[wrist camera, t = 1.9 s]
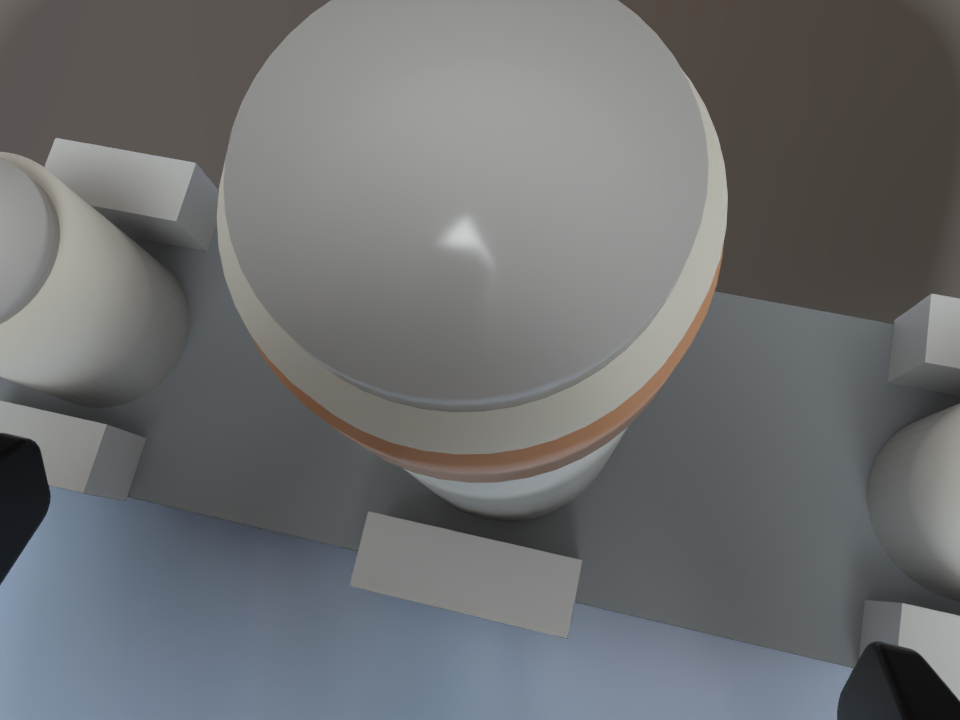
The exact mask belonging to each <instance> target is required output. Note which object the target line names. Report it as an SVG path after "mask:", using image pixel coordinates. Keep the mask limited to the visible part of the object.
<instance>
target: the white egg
mask: <svg viewBox="0 0 960 720" xmlns="http://www.w3.org/2000/svg"><path fill="white" fill-rule="evenodd" d="M867 504H868V512H869V516H870V520H871V524H872V527H873V529H874V532H875V534H876V537H877V539H878V541H879V542H880V544H881V546H882V548H883V549H884V551H885V552H886V554H887V555H888V556H889V558H890V559H891V560H892V562H893V563H894V564H895V565H896V566H897V567H898V568H899V569H900V570H901V571H902V572H903V573H904V574H905V575H907V576H908V577H909V578H910V579H911V580H913V581H914V582H916V583H917V584H919V585H920V586H921V587H923V588H925V589H927V590H929V591H931V592H933V593H935V594H937V595H940V596H943V597H945V598H949V599H952V600H956V601H960V403H959V404H957V405H954V406H952V407H949V408H947V409H944V410H942V411H939V412H937V413H934V414H932V415H929V416H927V417H924V418H922V419H920V420H917V421H915V422H913V423H910V424H908V425H907V426H905V427H904V428H902V429H900V430H899V431H898V432H896V433H895V434H894V435H893V436H892V437H891V438H890V439H889V440H888V441H887V442H886V443H885V444H884V445H883V447H882V448H881V450H880V451H879V453H878V455H877V456H876V458H875V461H874V463H873V465H872V468H871V471H870V475H869V479H868V486H867Z"/></svg>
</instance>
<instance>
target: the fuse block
mask: <svg viewBox="0 0 960 720" xmlns="http://www.w3.org/2000/svg"><path fill="white" fill-rule="evenodd" d="M44 168H45V169H46V170H48V171H49V172H50V173H52V174H53V175H54V176H55V177H56V178H58V179H59V180H60V181H61V182H63V183H64V184H65V185H66V186H67V187H69V188H70V189H71V190H72V191H73V192H75V193H76V194H77V195H78V196H80V197H81V198H82V199H83V200H84V201H86V202H87V203H88V204H89V205H91V206H92V207H93V208H94V209H95V210H97V211H98V212H99V213H100V214H101V215H103V216H104V217H105V218H106V219H108V220H109V221H110V222H111V223H112V224H114V225H115V226H116V227H117V228H119V229H120V230H121V231H122V232H123V233H125V234H126V235H127V236H128V237H129V238H131V239H132V240H133V241H134V242H136V243H137V244H138V245H139V246H140V247H142V248H143V249H144V250H145V251H147V252H148V253H149V254H150V255H151V256H153V257H154V258H155V259H156V260H157V261H159V262H160V263H161V264H162V265H164V266H165V267H166V268H167V269H168V270H169V271H170V272H171V273H172V274H173V275H174V276H175V277H176V279H177V280H178V282H179V283H180V285H181V287H182V289H183V291H184V293H185V296H186V299H187V303H188V308H189V331H188V335H187V340H186V343H185V346H184V349H183V351H182V353H181V355H180V357H179V359H178V361H177V363H176V364H175V366H174V367H173V369H172V370H171V371H170V373H169V374H168V375H167V376H166V377H165V379H163V380H162V381H161V382H160V383H159V384H158V385H157V386H156V387H155V388H153V389H152V390H151V391H149V392H148V393H146V394H145V395H143V396H141V397H139V398H138V399H135V400H133V401H131V402H128V403H125V404H122V405H119V406H114V407H107V408H91V407H84V406H80V405H76V404H73V403H70V402H68V401H65V400H62V399H59V398H57V397H54V396H51V395H48V394H46V393H43V392H40V391H37V390H35V389H32V388H29V387H26V386H24V385H21V384H18V383H16V382H13V381H10V380H7V379H5V378H2V377H0V433H8V434H12V435H17V436H21V437H25V438H29V439H32V440H33V441H35V442H36V443H37V445H38V446H39V447H40V450H41V454H42V458H43V463H44V467H45V472H46V476H47V481H48V485H49V486H53V487H58V488H62V489H66V490H70V491H75V492H79V493H83V494H89V495H94V496H100V497H106V498H111V499H117V500H123V501H126V499H127V497H130V498H135V499H139V500H143V501H147V502H152V503H156V504H160V505H164V506H169V507H173V508H177V509H181V510H185V511H190V512H194V513H198V514H202V515H207V516H211V517H215V518H219V519H224V520H228V521H232V522H236V523H241V524H245V525H249V526H253V527H258V528H262V529H266V530H270V531H275V532H279V533H283V534H287V535H292V536H296V537H300V538H304V539H308V540H313V541H317V542H321V543H325V544H330V545H334V546H338V547H342V548H347V549H351V550H355V551H358V553H357V557H356V561H355V565H354V569H353V573H352V577H351V581H350V585H349V586H351V587H355V588H359V589H363V590H367V591H372V592H376V593H380V594H384V595H388V596H392V597H396V598H401V599H405V600H409V601H413V602H417V603H421V604H425V605H429V606H434V607H438V608H442V609H446V610H450V611H454V612H458V613H463V614H467V615H471V616H475V617H479V618H483V619H487V620H492V621H496V622H500V623H504V624H508V625H512V626H516V627H521V628H525V629H529V630H533V631H537V632H541V633H545V634H549V635H554V636H558V637H562V638H566V639H568V634H569V629H570V623H571V618H572V613H573V607H574V602H576V603H580V604H584V605H588V606H593V607H597V608H601V609H605V610H610V611H614V612H618V613H622V614H627V615H631V616H635V617H639V618H644V619H648V620H652V621H656V622H661V623H665V624H669V625H673V626H677V627H682V628H686V629H690V630H694V631H699V632H703V633H707V634H711V635H716V636H720V637H724V638H728V639H733V640H737V641H741V642H745V643H750V644H754V645H758V646H762V647H767V648H771V649H775V650H779V651H784V652H788V653H792V654H796V655H800V656H805V657H809V658H813V659H817V660H822V661H826V662H830V663H834V664H839V665H843V666H847V667H851V668H854V667H855V666H856V664H857V662H858V660H859V658H860V656H861V654H862V653H863V651H864V649H865V648H866V646H867V645H868V644H870V643H871V642H874V641H881V642H885V643H889V644H893V645H897V646H901V647H906V648H910V649H912V650H915V651H917V652H918V653H919V654H920V655H921V656H922V657H923V658H924V659H925V660H926V661H927V662H928V663H929V665H930V666H931V667H932V668H933V669H934V670H935V672H936V673H937V674H938V675H939V676H940V678H941V679H942V680H943V681H944V682H945V684H946V685H947V686H948V687H949V688H950V690H951V691H952V692H953V693H954V694H955V695H956V697H957V698H958V699H959V700H960V601H956V600H952V599H949V598H945V597H943V596H940V595H937V594H935V593H933V592H931V591H929V590H927V589H925V588H923V587H921V586H920V585H919V584H917V583H916V582H914V581H913V580H911V579H910V578H909V577H908V576H907V575H905V574H904V573H903V572H902V571H901V570H900V569H899V568H898V567H897V566H896V565H895V564H894V563H893V562H892V560H891V559H890V558H889V556H888V555H887V554H886V552H885V551H884V549H883V548H882V546H881V544H880V542H879V541H878V539H877V537H876V534H875V532H874V529H873V527H872V524H871V520H870V516H869V512H868V504H867V486H868V479H869V475H870V471H871V468H872V465H873V463H874V461H875V458H876V456H877V455H878V453H879V451H880V450H881V448H882V447H883V445H884V444H885V443H886V442H887V441H888V440H889V439H890V438H891V437H892V436H893V435H894V434H895V433H896V432H898V431H899V430H900V429H902V428H904V427H905V426H907V425H908V424H910V423H913V422H915V421H917V420H920V419H922V418H924V417H927V416H929V415H932V414H934V413H937V412H939V411H942V410H944V409H947V408H949V407H952V406H954V405H957V404H959V403H960V299H959V298H953V297H948V296H942V295H936V294H930V295H929V296H927V297H926V298H924V299H923V300H922V301H920V302H919V303H918V304H916V305H915V306H913V307H912V308H910V309H909V310H908V311H906V312H905V313H903V314H902V315H901V316H899V317H898V318H896V319H895V320H894V324H890V323H885V322H880V321H874V320H869V319H863V318H858V317H852V316H847V315H841V314H835V313H830V312H824V311H819V310H814V309H809V308H803V307H797V306H792V305H787V304H781V303H775V302H770V301H765V300H759V299H754V298H748V297H743V296H738V295H732V294H727V293H721V292H716V291H714V294H713V297H712V300H711V303H710V306H709V308H708V311H707V314H706V316H705V318H704V320H703V322H702V324H701V326H700V328H699V330H698V332H697V334H696V336H695V337H694V339H693V341H692V343H691V345H690V346H689V348H688V349H687V351H686V352H685V354H684V355H683V357H682V358H681V360H680V361H679V363H678V364H677V366H676V367H675V369H674V370H673V372H672V373H671V375H670V377H669V378H668V380H667V381H666V382H665V384H664V385H663V387H662V388H661V389H660V391H659V392H658V394H657V395H656V396H655V398H654V399H653V401H652V402H651V403H650V405H649V406H648V407H647V408H646V409H645V410H644V411H643V412H642V413H641V414H640V415H639V416H638V417H637V418H636V420H635V421H634V422H633V423H632V424H631V425H630V426H629V427H628V428H627V430H626V431H625V433H624V435H623V436H622V438H621V440H620V441H619V443H618V445H617V446H616V448H615V449H614V451H613V453H612V454H611V456H610V458H609V459H608V461H607V463H606V464H605V466H604V467H603V469H602V471H601V472H600V473H599V475H598V476H597V478H596V479H595V480H594V482H593V483H592V484H591V485H590V486H589V487H588V488H587V489H586V490H585V491H584V492H583V493H582V494H581V495H580V496H578V497H577V498H576V499H575V500H573V501H572V502H571V503H569V504H567V505H566V506H564V507H562V508H561V509H559V510H557V511H554V512H552V513H550V514H547V515H545V516H541V517H538V518H534V519H529V520H523V521H495V520H487V519H484V518H480V517H476V516H473V515H470V514H468V513H465V512H463V511H460V510H459V509H457V508H455V507H453V506H452V505H450V504H448V503H447V502H446V501H444V500H443V499H442V498H440V497H439V496H438V495H436V494H435V493H434V492H433V491H431V490H430V489H429V488H427V487H426V486H425V485H423V484H422V483H421V482H420V481H418V480H417V479H416V478H414V477H413V476H412V475H411V474H409V473H408V472H407V471H405V470H404V469H403V468H401V467H398V466H396V465H393V464H391V463H388V462H386V461H384V460H383V459H381V458H379V457H377V456H376V455H374V454H372V453H370V452H369V451H367V450H365V449H363V448H362V447H360V446H359V445H358V444H356V443H355V442H353V441H352V440H351V439H349V438H348V437H346V436H345V435H343V434H342V433H341V432H339V431H338V430H336V429H335V428H334V427H332V426H331V425H329V424H328V423H327V422H325V421H324V420H323V419H322V418H320V417H319V416H318V415H316V414H315V413H314V412H312V411H311V410H310V409H309V408H307V407H306V406H305V405H303V404H302V403H301V402H300V401H299V400H298V399H297V398H296V397H295V396H294V395H293V394H292V393H291V392H290V391H289V390H288V388H287V387H286V386H285V385H284V384H283V383H282V382H281V381H280V380H279V379H278V377H277V376H276V375H275V373H274V372H273V370H272V369H271V368H270V366H269V365H268V364H267V362H266V361H265V360H264V358H263V357H262V355H261V353H260V352H259V350H258V348H257V346H256V344H255V342H254V340H253V338H252V336H251V335H250V333H249V331H248V329H247V327H246V326H245V324H244V322H243V320H242V318H241V316H240V314H239V312H238V310H237V309H236V307H235V304H234V302H233V299H232V296H231V293H230V290H229V288H228V285H227V282H226V279H225V276H224V271H223V267H222V262H221V257H220V252H219V247H218V230H217V207H218V195H219V190H218V188H217V187H216V186H215V185H214V184H213V182H212V181H211V180H210V179H209V178H208V176H207V175H206V174H205V173H204V172H203V171H202V169H201V168H200V167H199V166H198V164H197V163H194V162H188V161H183V160H177V159H171V158H166V157H160V156H155V155H149V154H144V153H138V152H132V151H127V150H121V149H115V148H109V147H104V146H99V145H93V144H87V143H82V142H76V141H70V140H64V139H59V138H55V141H54V143H53V146H52V149H51V151H50V154H49V156H48V159H47V161H46V164H45V166H44Z"/></svg>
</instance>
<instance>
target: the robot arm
mask: <svg viewBox="0 0 960 720" xmlns="http://www.w3.org/2000/svg"><path fill="white" fill-rule="evenodd" d="M49 504H50V490H49V485H48V481H47V476H46V472H45V467H44V463H43V458H42V454H41V450H40V447H39V446H38V445H37V443H36V442H35V441H33V440H32V439H29V438H25V437H21V436H17V435H12V434H8V433H0V585H1V583H2V581H3V580H4V578H5V577H6V575H7V574H8V572H9V571H10V569H11V568H12V566H13V565H14V563H15V562H16V560H17V559H18V557H19V556H20V554H21V553H22V551H23V550H24V548H25V546H26V545H27V543H28V542H29V540H30V539H31V537H32V536H33V534H34V533H35V531H36V530H37V528H38V527H39V525H40V524H41V522H42V521H43V519H44V517H45V515H46V513H47V511H48V508H49ZM837 720H960V700H959V699H958V698H957V697H956V695H955V694H954V693H953V692H952V691H951V690H950V688H949V687H948V686H947V685H946V684H945V682H944V681H943V680H942V679H941V678H940V676H939V675H938V674H937V673H936V672H935V670H934V669H933V668H932V667H931V666H930V665H929V663H928V662H927V661H926V660H925V659H924V658H923V657H922V656H921V655H920V654H919V653H918V652H917V651H915V650H912V649H910V648H906V647H901V646H897V645H893V644H889V643H885V642H881V641H874V642H871V643H870V644H868V645H867V646H866V648H865V649H864V651H863V653H862V654H861V656H860V658H859V660H858V662H857V664H856V666H855V667H854V669H853V671H852V673H851V675H850V677H849V678H848V680H847V682H846V684H845V686H844V688H843V690H842V692H841V695H840V698H839V702H838V710H837Z"/></svg>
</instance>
